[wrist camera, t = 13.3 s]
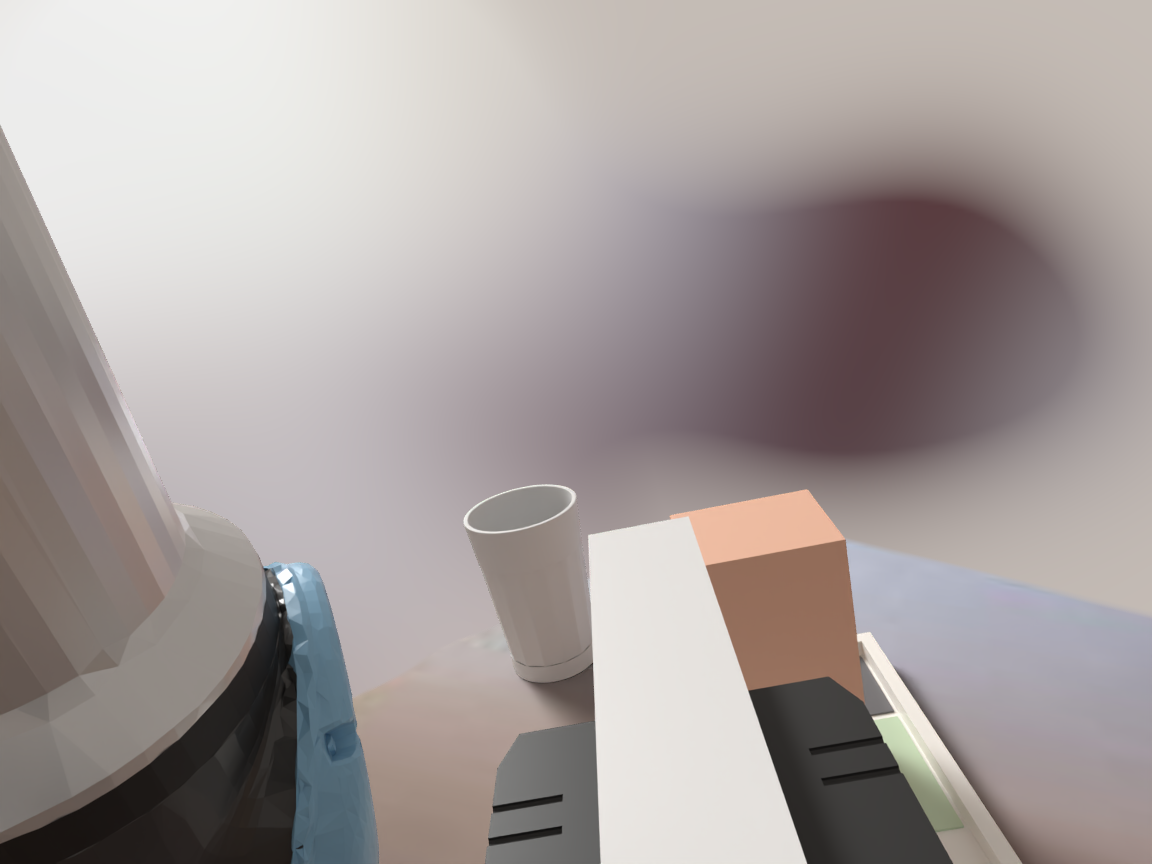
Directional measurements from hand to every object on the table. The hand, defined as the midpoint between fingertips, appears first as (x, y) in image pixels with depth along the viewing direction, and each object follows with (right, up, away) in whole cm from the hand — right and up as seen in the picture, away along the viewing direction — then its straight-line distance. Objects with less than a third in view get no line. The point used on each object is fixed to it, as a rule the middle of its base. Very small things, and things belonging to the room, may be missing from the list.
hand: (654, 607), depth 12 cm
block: (+10, -15, +30) cm, 35 cm away
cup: (-3, -14, +48) cm, 50 cm away
